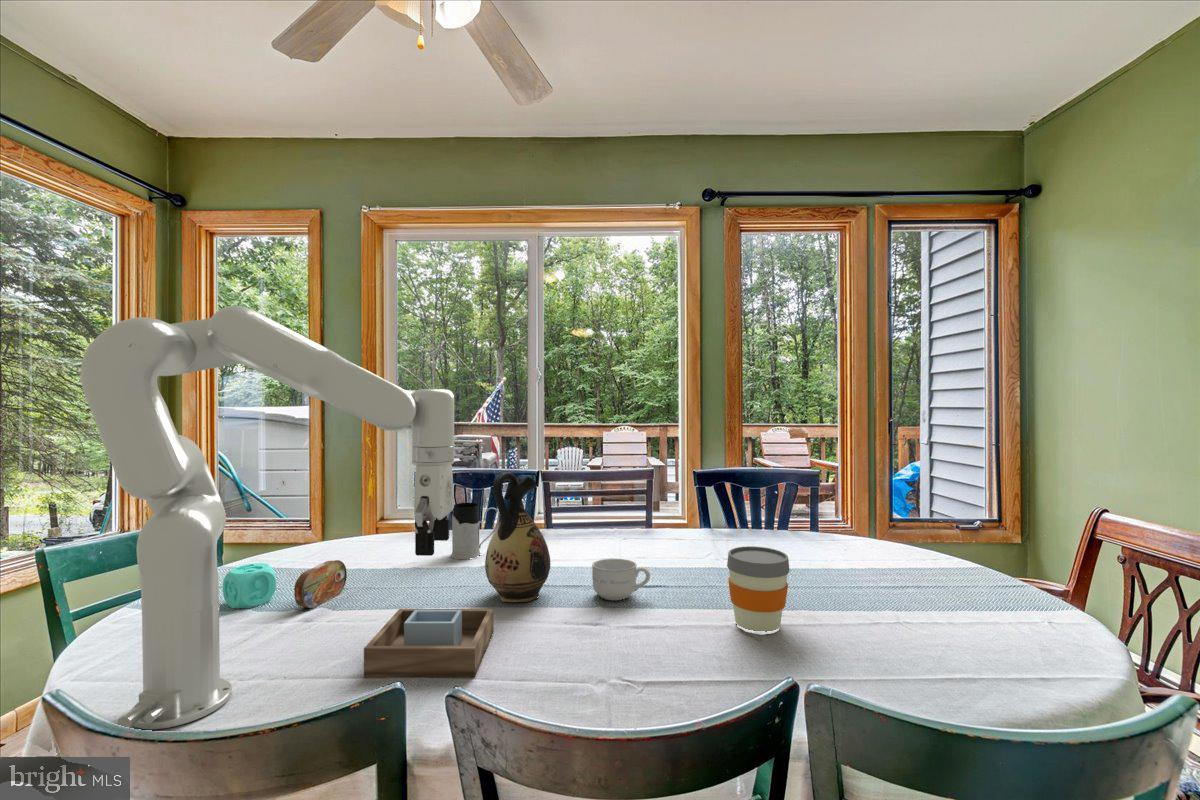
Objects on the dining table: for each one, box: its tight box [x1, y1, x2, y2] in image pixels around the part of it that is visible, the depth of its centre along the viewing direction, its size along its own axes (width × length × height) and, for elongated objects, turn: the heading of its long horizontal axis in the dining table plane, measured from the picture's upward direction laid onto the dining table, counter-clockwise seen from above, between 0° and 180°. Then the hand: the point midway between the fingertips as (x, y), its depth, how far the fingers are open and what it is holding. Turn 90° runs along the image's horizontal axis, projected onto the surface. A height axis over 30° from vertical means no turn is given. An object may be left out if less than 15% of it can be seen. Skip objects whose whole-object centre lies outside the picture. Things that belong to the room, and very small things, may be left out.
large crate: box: [363, 608, 495, 678], centre depth 103 cm, size 17×19×5 cm
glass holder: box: [450, 502, 500, 560], centre depth 165 cm, size 9×14×15 cm, turn 107°
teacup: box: [591, 558, 651, 601], centre depth 131 cm, size 14×11×8 cm
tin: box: [293, 559, 348, 609], centre depth 129 cm, size 15×3×8 cm, turn 168°
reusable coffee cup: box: [726, 545, 791, 632], centre depth 115 cm, size 13×13×15 cm
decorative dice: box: [222, 562, 277, 609], centre depth 128 cm, size 8×8×8 cm
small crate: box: [404, 610, 462, 646], centre depth 103 cm, size 6×9×6 cm, turn 90°
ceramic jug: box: [484, 471, 551, 603], centre depth 131 cm, size 17×15×30 cm
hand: (433, 547), depth 102 cm, fingers open, 9 cm apart
